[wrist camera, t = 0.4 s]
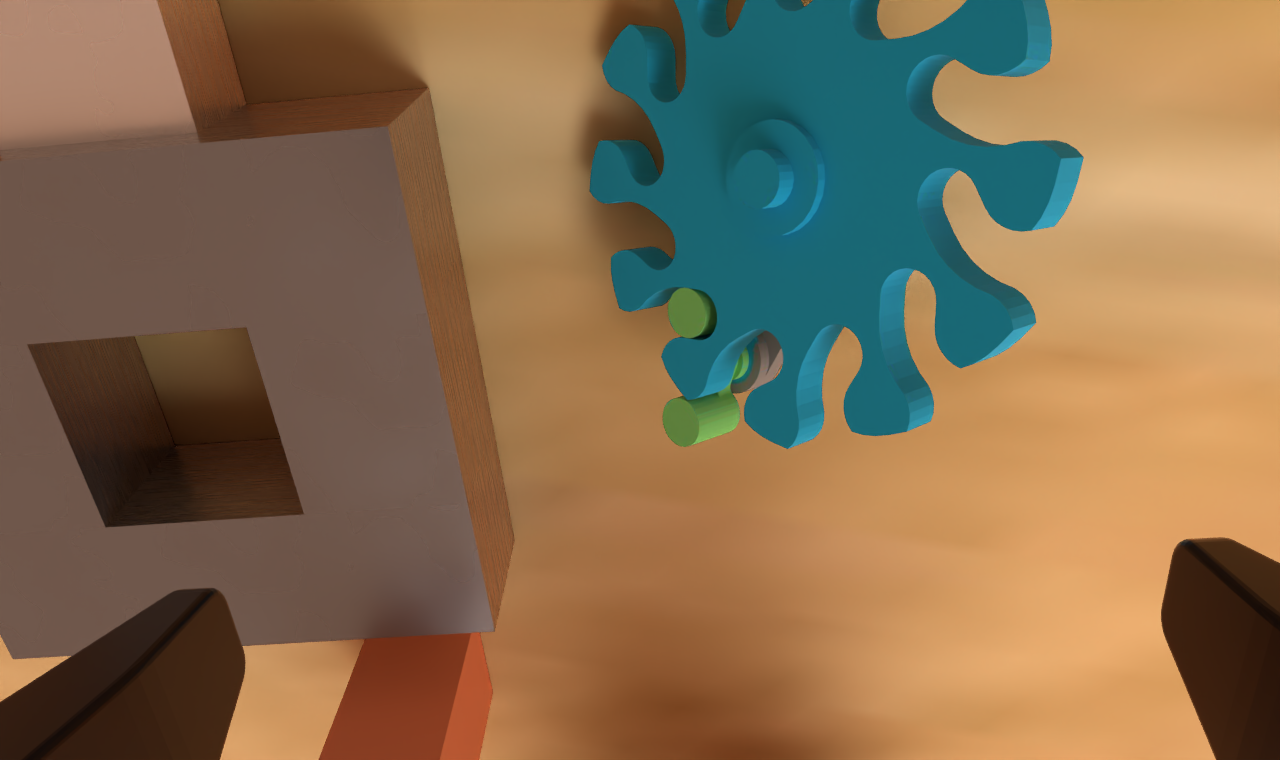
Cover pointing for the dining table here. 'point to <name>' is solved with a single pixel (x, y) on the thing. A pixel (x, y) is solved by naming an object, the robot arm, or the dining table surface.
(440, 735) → the terracotta rectangular prism
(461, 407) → the grey square hole block
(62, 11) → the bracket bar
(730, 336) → the gear
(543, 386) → the dining table surface
